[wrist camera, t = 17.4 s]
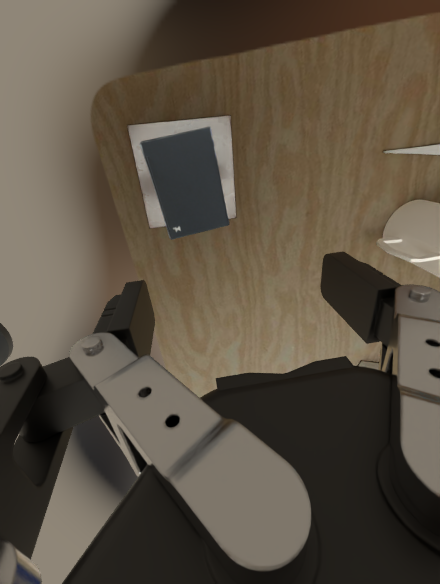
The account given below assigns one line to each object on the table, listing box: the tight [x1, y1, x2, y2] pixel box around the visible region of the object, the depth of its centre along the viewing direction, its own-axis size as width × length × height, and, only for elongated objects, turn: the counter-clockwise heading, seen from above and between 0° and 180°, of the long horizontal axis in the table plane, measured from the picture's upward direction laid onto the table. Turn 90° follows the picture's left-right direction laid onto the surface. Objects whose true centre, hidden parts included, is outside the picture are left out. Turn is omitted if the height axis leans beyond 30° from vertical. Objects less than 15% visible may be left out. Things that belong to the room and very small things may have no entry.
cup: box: [376, 200, 440, 277], centre depth 35 cm, size 8×12×10 cm
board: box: [127, 115, 237, 228], centre depth 32 cm, size 11×11×2 cm
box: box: [140, 127, 229, 239], centre depth 26 cm, size 8×6×11 cm
